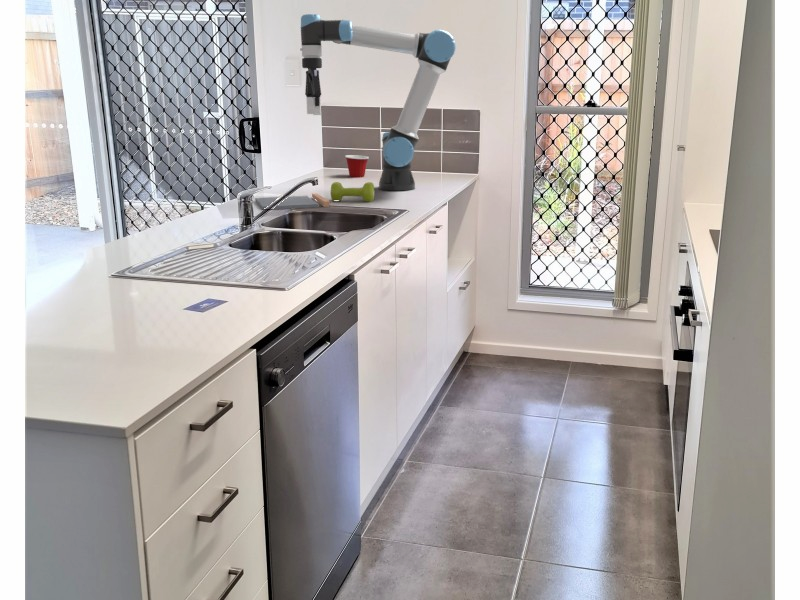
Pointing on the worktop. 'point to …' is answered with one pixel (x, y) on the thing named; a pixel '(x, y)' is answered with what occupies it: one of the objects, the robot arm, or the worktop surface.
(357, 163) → the plastic cup
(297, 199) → the board
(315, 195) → the strip
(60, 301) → the worktop surface
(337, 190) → the dumbbell
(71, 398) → the worktop surface
